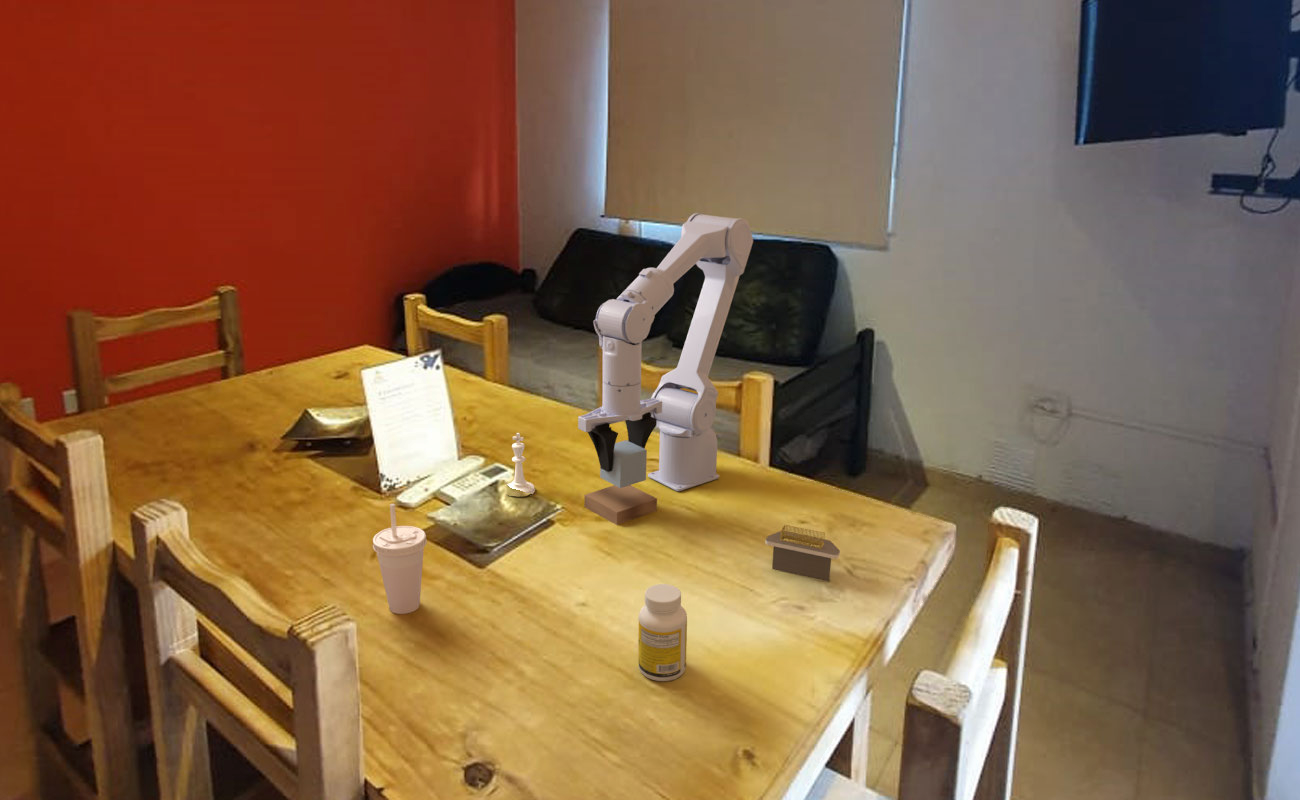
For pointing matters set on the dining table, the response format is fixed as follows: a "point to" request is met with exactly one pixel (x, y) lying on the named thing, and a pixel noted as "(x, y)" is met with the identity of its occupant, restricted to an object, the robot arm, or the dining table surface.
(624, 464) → the slate cube
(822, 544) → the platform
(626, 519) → the walnut block
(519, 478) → the chess piece
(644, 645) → the supplement bottle
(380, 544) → the smoothie
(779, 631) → the dining table surface
